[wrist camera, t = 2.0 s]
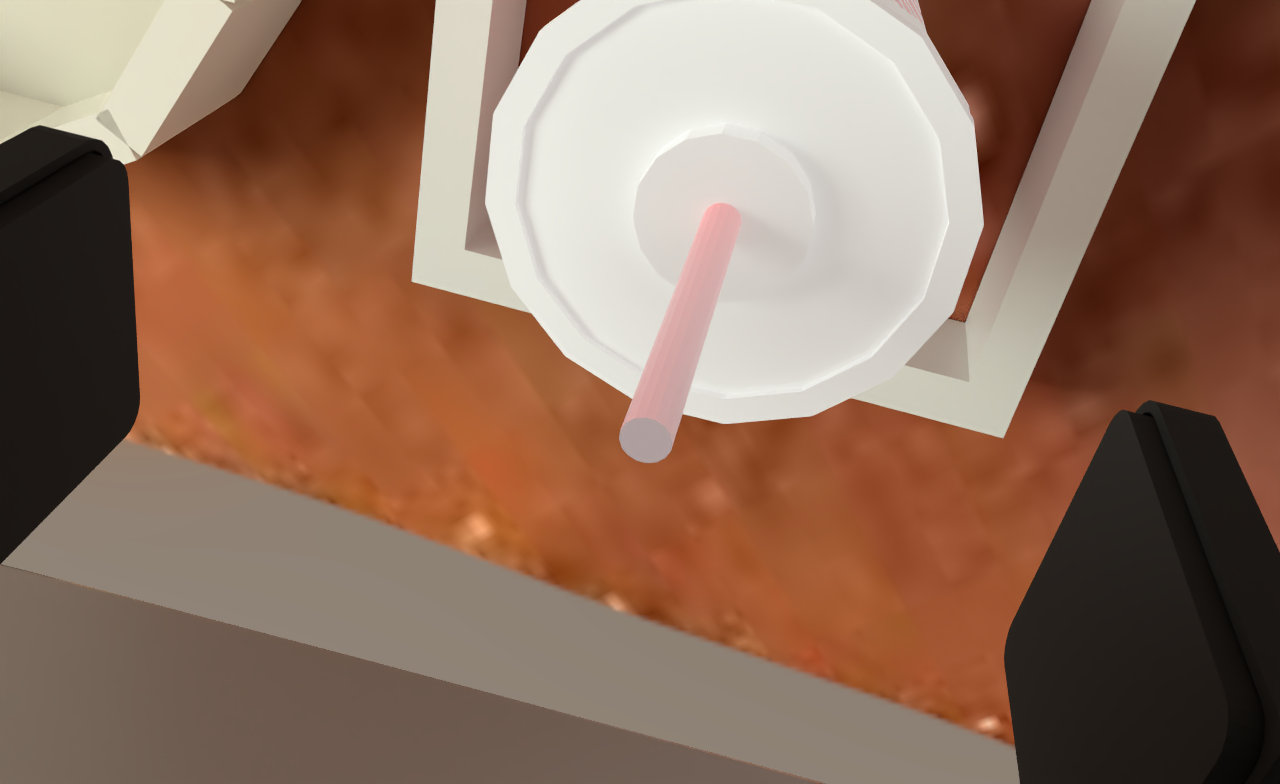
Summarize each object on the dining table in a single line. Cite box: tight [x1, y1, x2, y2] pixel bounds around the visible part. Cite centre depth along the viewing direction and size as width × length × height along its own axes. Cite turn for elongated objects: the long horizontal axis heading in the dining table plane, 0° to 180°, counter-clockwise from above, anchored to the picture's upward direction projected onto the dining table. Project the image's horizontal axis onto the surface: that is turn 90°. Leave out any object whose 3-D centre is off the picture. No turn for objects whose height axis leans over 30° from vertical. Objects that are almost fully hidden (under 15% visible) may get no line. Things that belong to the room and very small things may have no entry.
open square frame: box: [412, 0, 1196, 438], centre depth 21 cm, size 12×12×2 cm
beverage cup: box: [485, 0, 984, 463], centre depth 16 cm, size 6×6×14 cm
